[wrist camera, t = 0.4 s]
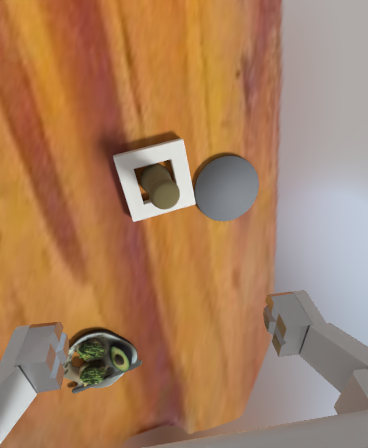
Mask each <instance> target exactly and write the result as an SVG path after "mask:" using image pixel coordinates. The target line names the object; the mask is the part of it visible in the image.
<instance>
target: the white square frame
mask: <svg viewBox="0 0 368 448" xmlns="http://www.w3.org/2000/svg"><path fill="white" fill-rule="evenodd" d="M113 159H114V162H115V165H116V168H117V172H118V175H119V178H120V181H121V184H122V187H123V191H124V194H125V197H126V200H127V203H128V206H129V210H130V213H131V216H132V219H133V222H135V221H139V220H142V219H146V218H149V217H152V216H156V215H159V214H163V213H166V212H170V211H173V210H177V209H180V208H183V207H187V206H190V205H194V204H196V202H195V197H194V192H193V187H192V182H191V177H190V172H189V167H188V162H187V156H186V151H185V146H184V141H183V139H181V138H179V139H175V140H171V141H167V142H163V143H159V144H155V145H151V146H147V147H143V148H140V149H136V150H132V151H128V152H124V153H120V154H116V155H113ZM166 160H170V163H171V167H172V171H173V176H174V180H175V183H176V184H177V185H178V188H179V190H180V197H179V200H178V202H177V204H176V205H175V206H174V207H172V208H170V209H165V210H164V209H159V208H157V207H155V206H154V205H153V204H152V203H151V201H150V199H149V200H145V201H143V200H142V196H141V193H140V189H139V186H138V182H137V179H136V176H135V172H134V169H136V168H139V167H143V166H147V165H151V164H154V163H158V162H162V161H166Z"/></svg>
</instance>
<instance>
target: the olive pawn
mask: <svg viewBox="0 0 368 448" xmlns="http://www.w3.org/2000/svg"><path fill="white" fill-rule="evenodd" d="M140 182H141V185H142V187H143V189H144V190H145V191H146V192H147V193H148V194H149V199H150V201H151V203H152V204H153V205H154V206H155V207H157V208H159V209H164V210H165V209H170V208H172V207H174V206H175V205H176V204H177V202H178V200H179V197H180V190H179V188H178V185H177V184H176V183H175V182H174V181H172V179H171V176H170V173H169V171H168V170H167V169H166V168H165V167H164V166H162V165H158V164H153V165H150V166H148V167H146V168H145V169H144V170H143V172H142V174H141V177H140Z"/></svg>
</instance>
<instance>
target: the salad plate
mask: <svg viewBox="0 0 368 448" xmlns="http://www.w3.org/2000/svg"><path fill="white" fill-rule="evenodd" d="M104 338H105V339H104ZM75 350H77V353H79V354H80V356H79V358H83V359H84V360H86V361H85V363H83V364H82V366H81V367H74V366H72V363H71V358H72V355H73V353H74V352H75ZM141 363H142V361H140V360H139V359H138V357H137V350H136V348H135V347H134V346H133V345H132V344H131V343H130V342H129V341H127V340H126V339H124V338H123V337H121V336H119V335H117V334H115V333H113V332H110V331H105V330H96V331H92V332H89V333H86V334H84V335H83V336H81V337H79V338H78V339H77V340H76V341H75V342H74V344H73V345H72V346H71V347H70V348H69V354H68V359H67V360H66V361H65V363H64V364H63V365H62V366H63V368H64V370H65V372H64V377H65V378H67V379H70V380H73V381H75V382H77V383H78V385H77V386H76V387H75V388H73V389H72V392H73V393H78V392H80V391H83V390H85V389H87V388H90V387H91V388H102V387H107V386H110V385H111V384H113V383H114V382H115V381H116V380H118V379H119V378H120V377H121V376H122V375H123V374H124V373H125V372H127V371H128V370H132V369H134V368H136V367H138V366H140V365H141ZM108 366H110V368H107V367H108Z"/></svg>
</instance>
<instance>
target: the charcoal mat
mask: <svg viewBox="0 0 368 448" xmlns="http://www.w3.org/2000/svg"><path fill="white" fill-rule="evenodd" d="M258 187H259V181H258V176H257V173H256V171H255V169H254V167H253V166H252V165H251V164H250V163H249V162H248V161H246V160H244V159H242V158H240V157H237V156H222V157H219V158H216V159H214V160H213V161H211V162H210V163H208V164H207V165H206V166H205V167H204V168H203V169H202V171H201V172H200V174H199V176H198V178H197V180H196V184H195V189H194V194H195V200H196V203H197V205H198V207H199V209H200V210H201V211H202V212H203V213H204V214H205V215H206V216H207V217H209V218H211V219H213V220H217V221H229V220H233V219H235V218H237V217H239V216H241V215H242V214H244V213H245V212H246V211H247V210H248V209H249V208H250V207H251V205H252V204H253V202H254V201H255V198H256V196H257V193H258Z"/></svg>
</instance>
